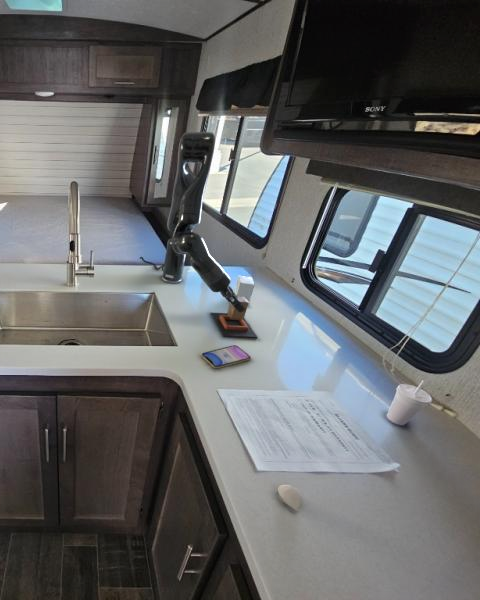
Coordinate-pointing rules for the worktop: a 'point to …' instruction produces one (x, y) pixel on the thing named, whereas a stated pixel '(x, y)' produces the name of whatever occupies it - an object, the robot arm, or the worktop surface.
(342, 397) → the worktop surface
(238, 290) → the small box
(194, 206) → the robot arm
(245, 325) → the dock pad
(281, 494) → the cream seashell
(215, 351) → the smartphone
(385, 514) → the worktop surface
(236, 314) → the oak block
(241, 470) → the worktop surface
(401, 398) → the smoothie
